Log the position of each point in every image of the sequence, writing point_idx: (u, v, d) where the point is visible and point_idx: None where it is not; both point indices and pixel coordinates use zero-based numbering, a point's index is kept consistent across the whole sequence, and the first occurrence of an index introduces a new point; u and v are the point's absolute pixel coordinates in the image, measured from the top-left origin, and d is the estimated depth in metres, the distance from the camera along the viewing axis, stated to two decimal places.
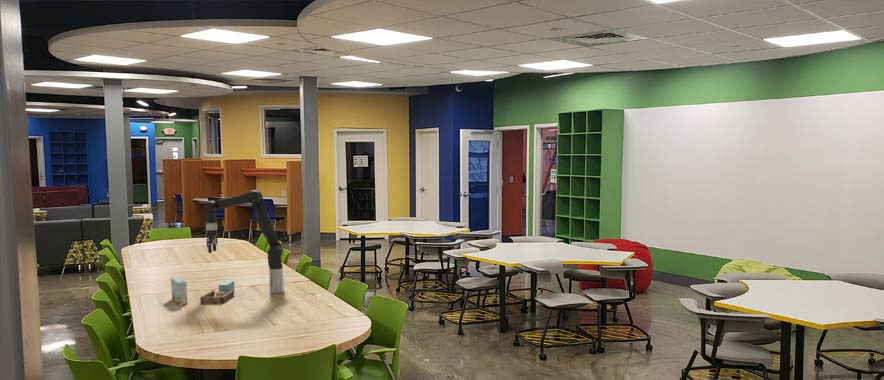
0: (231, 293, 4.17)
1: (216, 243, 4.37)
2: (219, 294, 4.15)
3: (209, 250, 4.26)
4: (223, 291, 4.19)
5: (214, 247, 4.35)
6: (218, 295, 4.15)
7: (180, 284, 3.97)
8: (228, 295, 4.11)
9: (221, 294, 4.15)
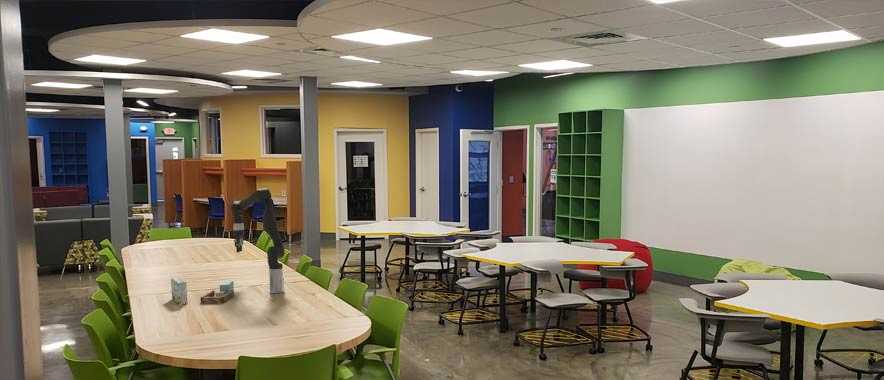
0: (231, 293, 4.17)
1: (242, 243, 4.59)
2: (219, 294, 4.15)
3: (237, 250, 4.52)
4: (223, 291, 4.19)
5: (240, 248, 4.57)
6: (218, 295, 4.15)
7: (180, 284, 3.97)
8: (228, 295, 4.11)
9: (221, 294, 4.15)
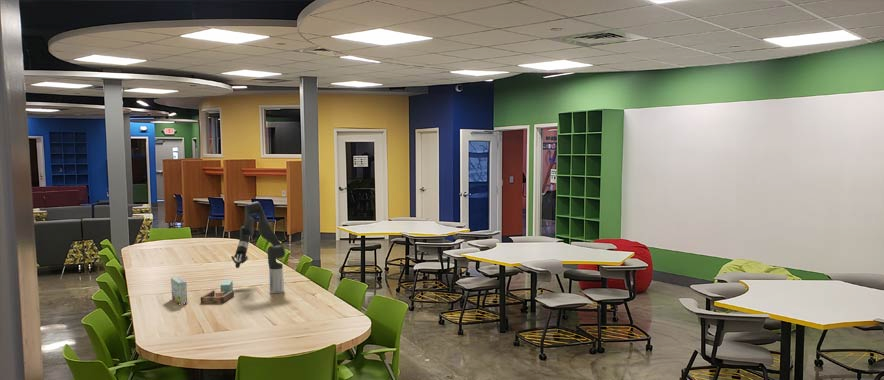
0: (231, 293, 4.17)
1: None
2: (219, 294, 4.15)
3: None
4: (223, 291, 4.19)
5: None
6: (218, 295, 4.15)
7: (180, 284, 3.97)
8: (228, 295, 4.11)
9: (221, 294, 4.15)
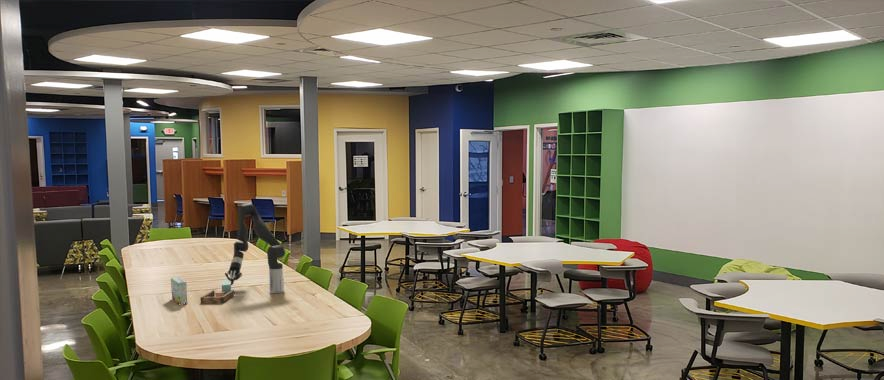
0: (231, 293, 4.17)
1: (235, 277, 4.40)
2: (218, 294, 4.15)
3: None
4: (223, 291, 4.19)
5: None
6: (217, 295, 4.15)
7: (180, 284, 3.97)
8: (228, 295, 4.11)
9: (221, 294, 4.15)
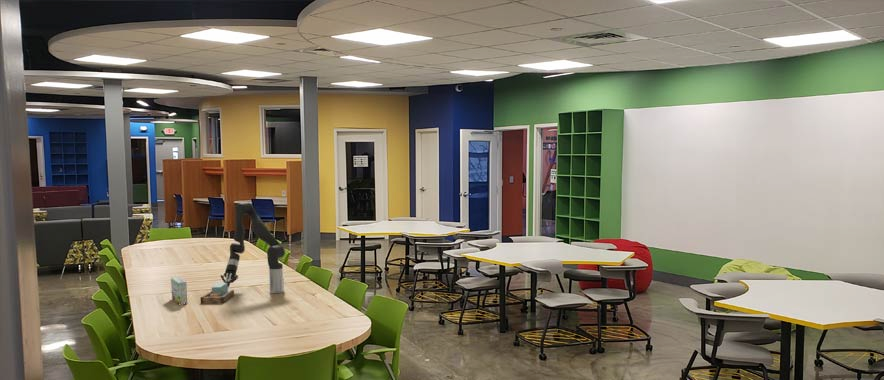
0: (231, 293, 4.17)
1: (231, 280, 4.31)
2: (213, 296, 4.09)
3: None
4: (217, 293, 4.13)
5: None
6: None
7: (180, 284, 3.97)
8: (228, 295, 4.11)
9: (215, 296, 4.09)
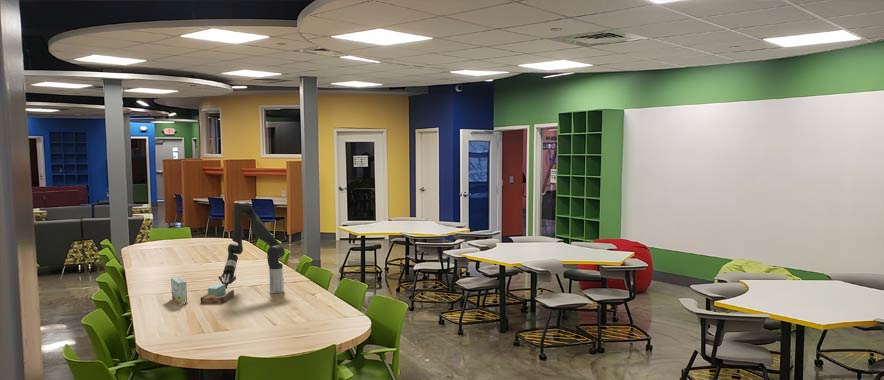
0: (231, 293, 4.17)
1: (229, 281, 4.27)
2: None
3: None
4: (214, 295, 4.09)
5: None
6: None
7: (180, 284, 3.97)
8: (228, 295, 4.11)
9: None
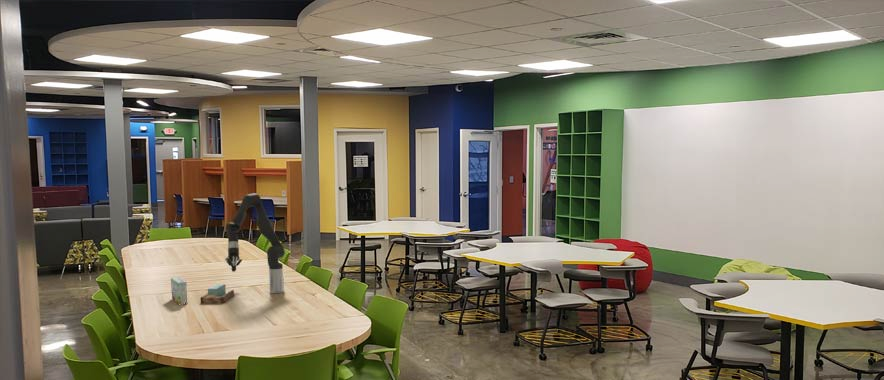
0: (231, 293, 4.17)
1: (237, 264, 4.44)
2: None
3: (232, 268, 4.40)
4: (214, 295, 4.09)
5: None
6: None
7: (180, 284, 3.97)
8: (228, 295, 4.11)
9: None
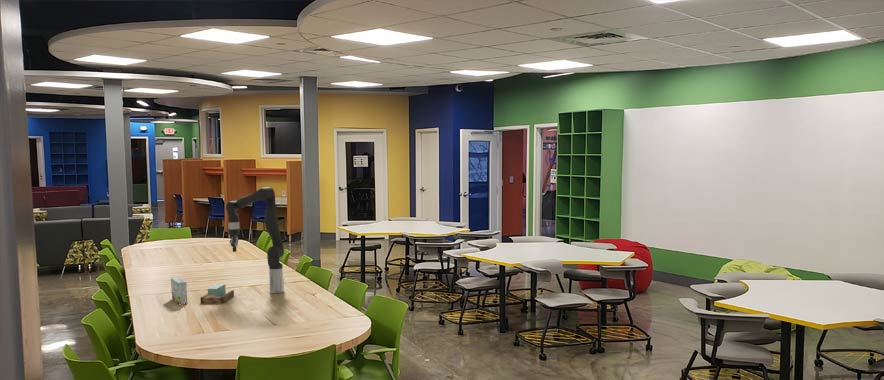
0: (231, 293, 4.17)
1: None
2: None
3: (233, 249, 4.44)
4: (214, 295, 4.09)
5: None
6: None
7: (180, 284, 3.97)
8: (228, 295, 4.11)
9: None
